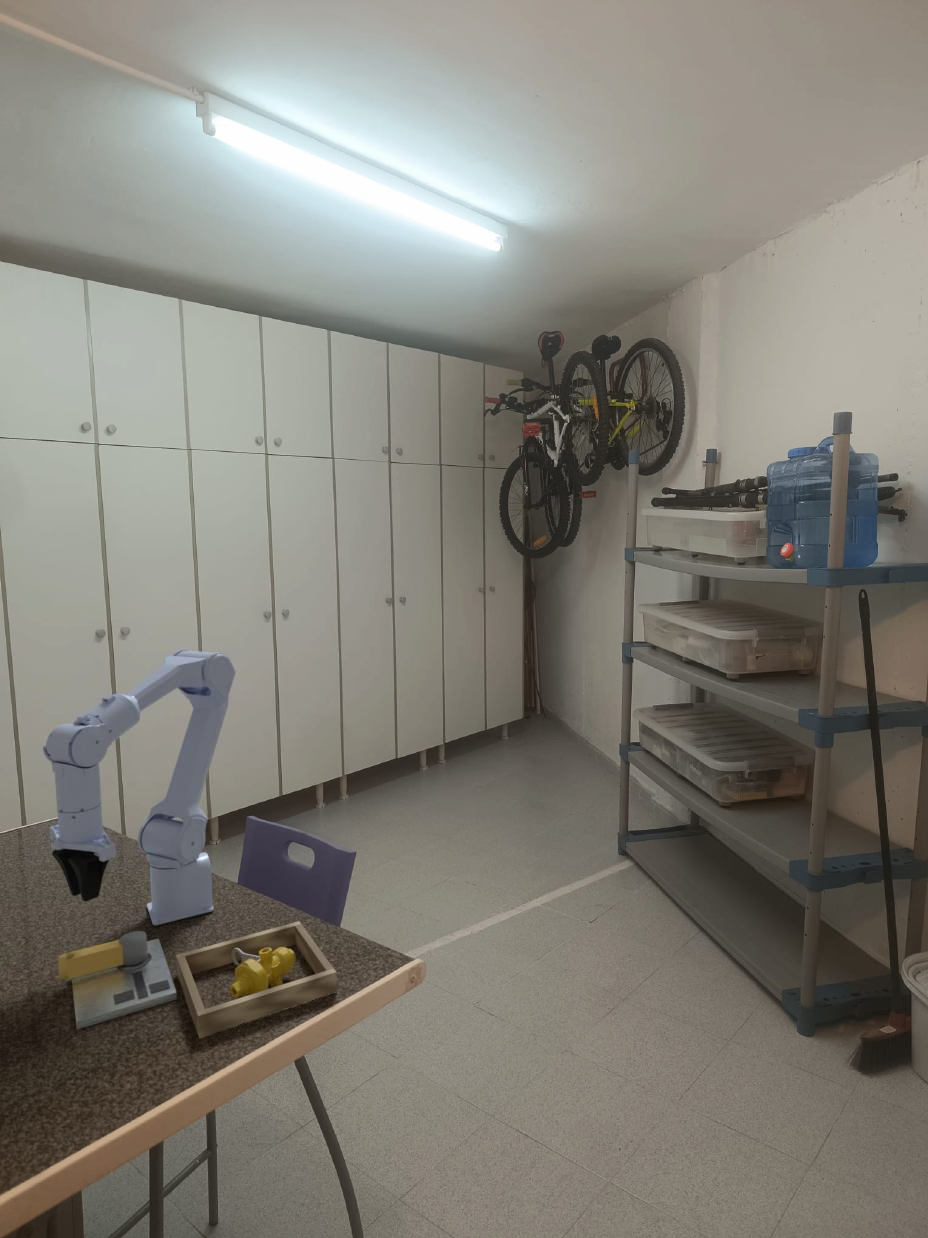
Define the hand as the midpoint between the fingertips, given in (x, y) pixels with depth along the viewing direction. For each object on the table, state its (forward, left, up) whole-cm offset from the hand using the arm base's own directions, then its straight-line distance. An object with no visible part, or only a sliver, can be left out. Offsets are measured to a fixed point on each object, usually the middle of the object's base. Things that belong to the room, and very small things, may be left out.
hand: (85, 895), depth 108 cm
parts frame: (-19, +19, -10) cm, 29 cm away
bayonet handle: (-2, +6, -8) cm, 10 cm away
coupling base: (-3, +9, -10) cm, 14 cm away
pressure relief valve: (-19, +18, -10) cm, 28 cm away
